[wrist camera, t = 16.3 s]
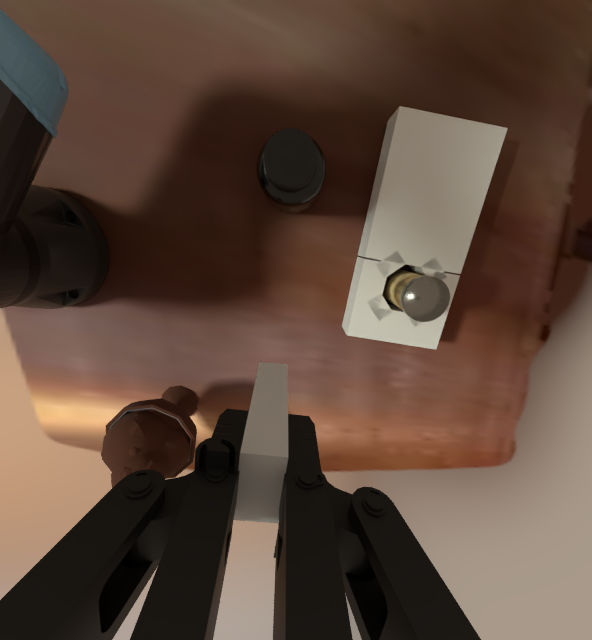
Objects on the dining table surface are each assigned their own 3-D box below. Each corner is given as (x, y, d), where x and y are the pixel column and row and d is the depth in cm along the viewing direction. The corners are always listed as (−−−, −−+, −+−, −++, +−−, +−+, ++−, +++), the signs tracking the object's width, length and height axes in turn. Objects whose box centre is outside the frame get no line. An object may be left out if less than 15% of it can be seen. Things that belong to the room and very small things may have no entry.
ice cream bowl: (229, 401, 44) (199, 480, 30) (182, 444, 46) (132, 537, 32) (176, 355, 42) (115, 416, 28) (129, 401, 44) (49, 481, 30)
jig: (341, 326, 41) (346, 335, 37) (387, 120, 34) (399, 106, 30) (423, 339, 42) (436, 349, 38) (484, 140, 35) (507, 128, 31)
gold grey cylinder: (373, 298, 40) (398, 318, 30) (381, 264, 39) (410, 273, 29) (406, 304, 40) (442, 325, 31) (416, 270, 39) (456, 280, 29)
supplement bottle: (324, 160, 35) (339, 122, 24) (314, 218, 37) (323, 209, 26) (268, 149, 35) (256, 106, 23) (261, 209, 37) (246, 195, 25)
